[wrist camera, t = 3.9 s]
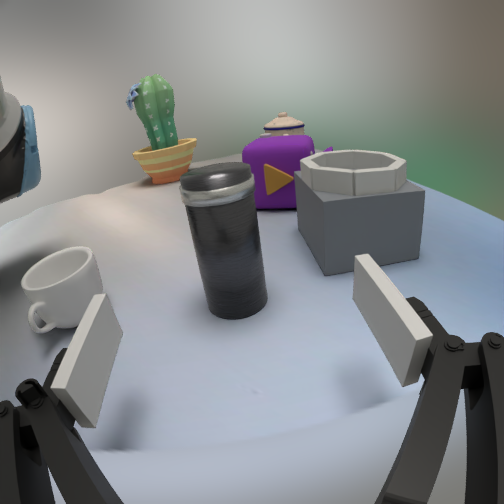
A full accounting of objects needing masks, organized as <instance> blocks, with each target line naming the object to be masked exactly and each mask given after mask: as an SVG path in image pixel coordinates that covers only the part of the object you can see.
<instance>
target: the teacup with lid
mask: <svg viewBox="0 0 504 504" xmlns="http://www.w3.org/2000/svg"><path fill="white" fill-rule="evenodd" d="M278 116H279V117H278V118H275V119H274V120H272V121H271V122H270V123H268V124H265V125H264V130H265V133H271V135H272V136H286V135H304V123H303V122H302V121H298V120H295V119H294V118H292V117H287V113H286V112H283V113H279V114H278Z"/></svg>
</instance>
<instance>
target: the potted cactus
mask: <svg viewBox="0 0 504 504" xmlns="http://www.w3.org/2000/svg"><path fill="white" fill-rule="evenodd" d="M133 101H134V104H135V108H136V112H137V115H138V116H139V118H140V120H141V121H142V123H143V124H144V127H145V130H146V132H147V135H148V138H149V141H150V143H151V146H150V147H146V148H143V149H140V150H138V151H135V152H134V153H133V154H132V155H133V157H134V159H135V160H138V161H139V163H140V165H141V167H142V168H143V170H144V171H145V172H146V173H147V174H148V175H149V176H150V177H152V183H154V184H164V183H169V182H174V181H177V180H180V176H181V175H182V174H184V173H186V172H188V168H189V165H190V163H191V161H192V155H193V148H194V147H196V139H193V138H190V139H181V140H178V138H177V133H176V128H175V123H174V118H173V113H174V105H175V104H174V95H173V89H172V87H171V86H170V85H169V83H168V82H167V81H166V80H164V79H163V78H162V77H161V76H160V75H157V74H155V75H153V76H152V77H150V76H146V77H145V79H143V78H142V79H141V80H140V83H138V84H135V85H133V86H132V87H131V89H130V92H129V94H128V97H127V101H126V103H127V105H128V107H129V109H130V110H132V109H133V105H132V102H133Z"/></svg>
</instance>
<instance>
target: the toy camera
mask: <svg viewBox="0 0 504 504" xmlns="http://www.w3.org/2000/svg"><path fill="white" fill-rule="evenodd" d="M329 151H333V149H332V147H329V148H327V149H326V150H325V151H323V152H329ZM314 154H315V151H314V144H313V140H312V138H311V137H309V136H307V135H286V136H272V135H271V133H265V134H260V138H258V139H256V140H254V141H253V142H251V143H250V144H248V145H247V146H246V147H245V148H244V149H243V153H242V160H243V163H247V164H250V167H251V173H253V174H254V181H255V188H256V190H255V192H254V197H255V204H256V208H257V209H278V208H297V204H296V191H295V179H294V171H301V167H300V160H301V159H303V158H306V157H308V156H311V155H314Z"/></svg>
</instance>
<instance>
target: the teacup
mask: <svg viewBox="0 0 504 504" xmlns="http://www.w3.org/2000/svg"><path fill="white" fill-rule="evenodd" d="M21 285H22V288H23V290H24V292H25V294H26V296H27V297H28V299H29V301H30V303H31V304H32V306H31V307H30V309H29V313H28V320H29V324H30V326H31V328H32V330H33V331H35V332H36V333H46V332H48V331H50V330H52V329H53V328H55V327H57V328H74V327H77V326H79V324H80V322H81V320H82V318H83V316H84V314H85V312H86V310H87V308H88V306H89V304H90V302H91V300H92V298H93V296H94V295H97V294H103V285H102V280H101V277H100V273H99V269H98V266H97V262H96V259H95V257H94V254H93V252H92V250H91V249H90V248H88V247H84V246H77V247H70V248H66V249H63V250H60V251H58V252H55V253H53V254H51V255H49V256H47V257H45V258H43V259H42V260H40V261H39V262H37V263H36V264H35V265H33V266H32V267H31V268H30V269H29V270H28V271H27V272H26V273H25V275H24V276H23V278H22V281H21ZM35 311H36V312H37V314H38V315H39V316H40V318H41V319H42V320H43V321H45V322H46V325H45V326H44V327H43V328H41V329H40V328H38V327H37V325H36V323H35V320H34V314H35Z"/></svg>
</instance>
